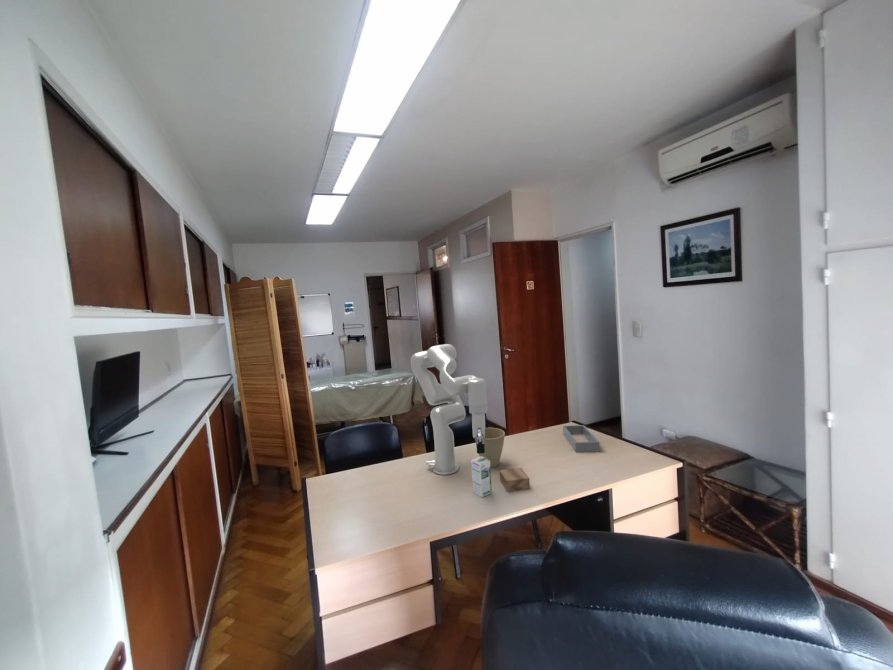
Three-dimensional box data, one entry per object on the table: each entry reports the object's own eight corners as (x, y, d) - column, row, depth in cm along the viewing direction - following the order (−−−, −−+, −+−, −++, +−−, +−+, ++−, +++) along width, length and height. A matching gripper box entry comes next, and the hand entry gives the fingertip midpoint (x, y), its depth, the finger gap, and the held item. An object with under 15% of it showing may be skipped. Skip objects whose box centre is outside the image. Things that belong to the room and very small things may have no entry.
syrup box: (482, 497, 156) (480, 463, 154) (472, 492, 160) (470, 459, 159) (492, 493, 159) (490, 459, 158) (482, 487, 164) (481, 455, 162)
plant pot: (470, 468, 183) (469, 436, 182) (482, 456, 196) (480, 426, 195) (500, 473, 176) (498, 440, 175) (510, 460, 189) (508, 429, 188)
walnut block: (507, 492, 159) (506, 481, 159) (499, 481, 169) (499, 470, 169) (529, 489, 161) (529, 477, 160) (521, 478, 171) (520, 467, 170)
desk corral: (575, 452, 194) (575, 442, 194) (563, 434, 220) (562, 425, 219) (599, 451, 193) (599, 442, 193) (584, 433, 219) (584, 425, 219)
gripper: (469, 403, 165) (471, 441, 166) (469, 414, 148) (471, 457, 149) (486, 402, 164) (488, 440, 166) (488, 414, 147) (490, 456, 149)
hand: (480, 448), depth 158 cm, fingers open, 9 cm apart
